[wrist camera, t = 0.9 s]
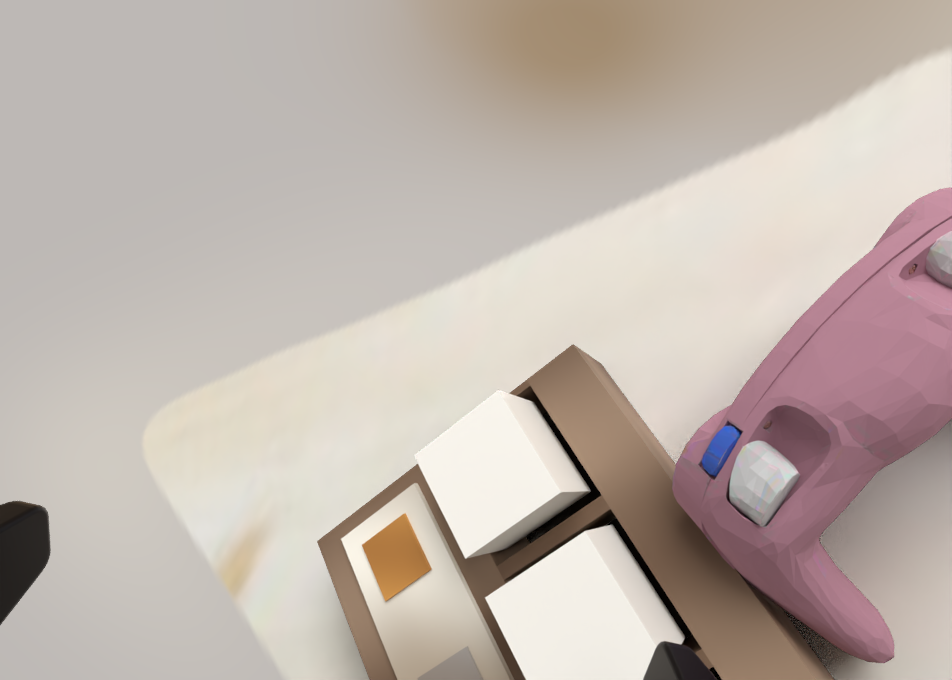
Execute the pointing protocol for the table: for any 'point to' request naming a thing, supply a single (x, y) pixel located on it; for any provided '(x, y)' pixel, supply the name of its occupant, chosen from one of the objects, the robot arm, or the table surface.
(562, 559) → the key middle
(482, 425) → the key
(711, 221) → the table surface
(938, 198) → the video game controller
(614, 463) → the keypad
